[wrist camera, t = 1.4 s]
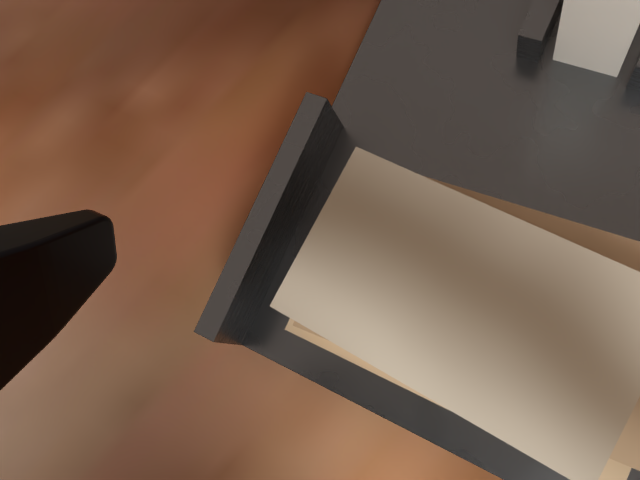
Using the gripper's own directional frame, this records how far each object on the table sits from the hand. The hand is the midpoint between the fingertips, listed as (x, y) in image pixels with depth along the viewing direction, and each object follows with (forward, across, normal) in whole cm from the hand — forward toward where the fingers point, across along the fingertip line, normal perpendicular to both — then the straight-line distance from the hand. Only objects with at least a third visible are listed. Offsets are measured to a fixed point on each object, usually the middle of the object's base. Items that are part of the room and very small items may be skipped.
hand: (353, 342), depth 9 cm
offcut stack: (+10, -1, +7) cm, 13 cm away
